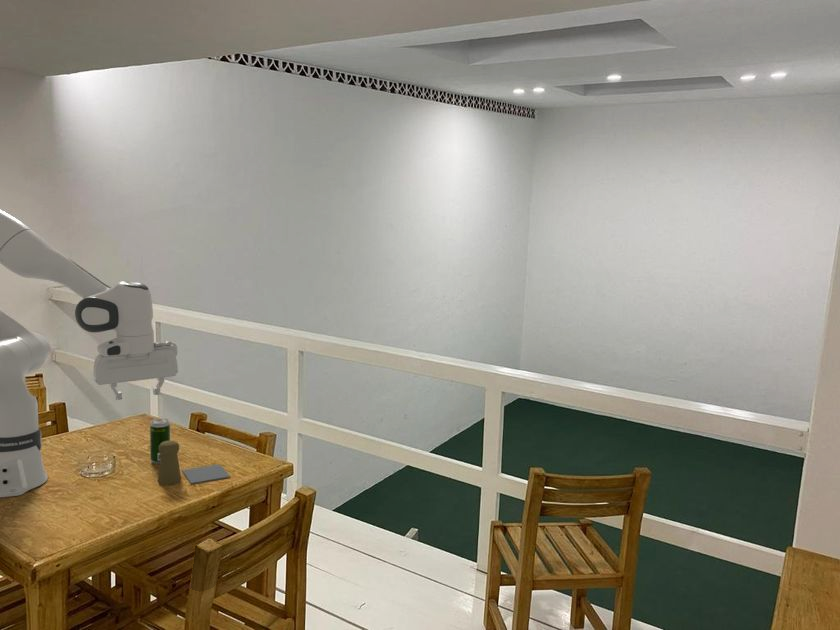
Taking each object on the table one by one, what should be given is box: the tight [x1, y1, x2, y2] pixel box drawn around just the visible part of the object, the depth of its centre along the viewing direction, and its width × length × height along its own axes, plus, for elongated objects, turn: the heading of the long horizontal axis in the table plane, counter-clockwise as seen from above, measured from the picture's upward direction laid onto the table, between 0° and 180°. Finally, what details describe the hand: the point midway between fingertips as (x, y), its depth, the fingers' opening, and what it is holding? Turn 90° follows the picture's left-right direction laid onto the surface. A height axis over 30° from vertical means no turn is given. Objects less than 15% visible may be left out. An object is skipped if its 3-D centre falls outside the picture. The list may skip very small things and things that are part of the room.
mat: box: [181, 463, 231, 485], centre depth 186 cm, size 10×10×1 cm
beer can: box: [149, 418, 171, 465], centre depth 194 cm, size 5×5×12 cm
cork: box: [157, 440, 182, 486], centre depth 180 cm, size 6×6×11 cm
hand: (137, 396), depth 174 cm, fingers open, 8 cm apart
